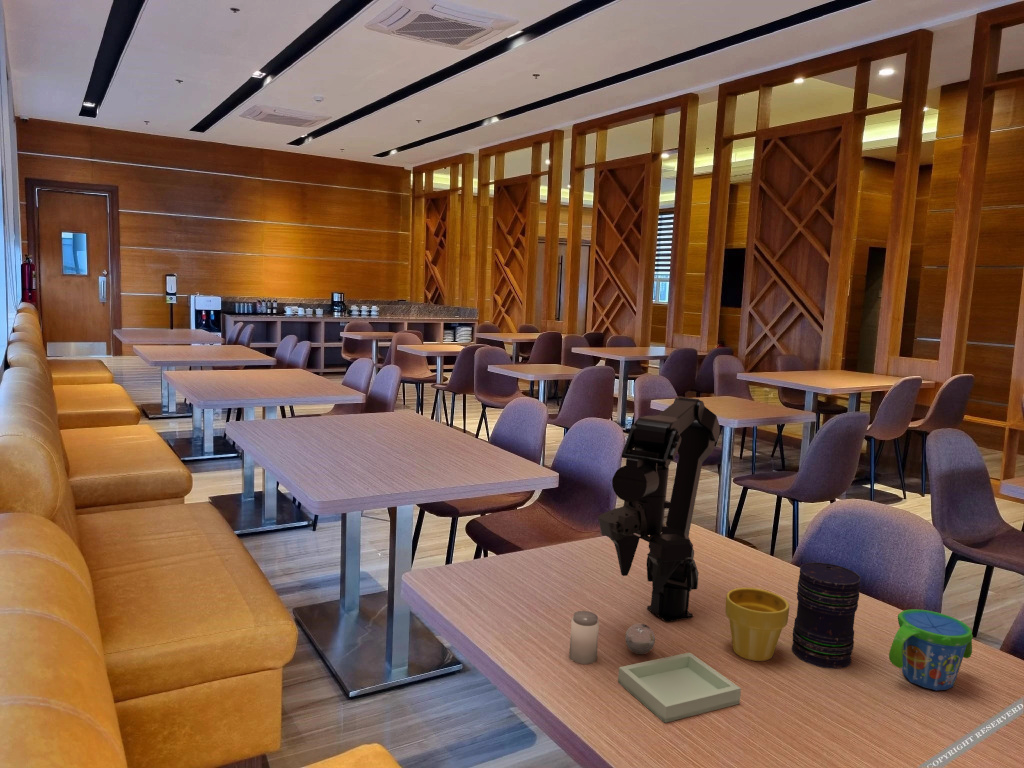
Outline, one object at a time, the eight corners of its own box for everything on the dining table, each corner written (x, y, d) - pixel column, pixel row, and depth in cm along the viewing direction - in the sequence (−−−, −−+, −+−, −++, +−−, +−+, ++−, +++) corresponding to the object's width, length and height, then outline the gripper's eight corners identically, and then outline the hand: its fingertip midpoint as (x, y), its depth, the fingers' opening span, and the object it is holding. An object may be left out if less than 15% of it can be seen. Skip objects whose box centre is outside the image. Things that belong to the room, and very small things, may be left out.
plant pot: (752, 672, 124) (757, 615, 123) (709, 644, 133) (713, 591, 132) (797, 660, 129) (802, 606, 128) (752, 634, 138) (757, 583, 137)
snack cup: (942, 661, 131) (949, 606, 130) (993, 694, 121) (1001, 633, 120) (864, 667, 128) (871, 610, 126) (910, 701, 118) (918, 639, 116)
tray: (688, 666, 125) (689, 652, 125) (739, 703, 114) (740, 688, 114) (617, 682, 119) (619, 667, 119) (664, 723, 108) (666, 706, 108)
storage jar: (854, 674, 125) (864, 588, 123) (791, 662, 128) (800, 578, 126) (848, 647, 135) (857, 567, 133) (790, 637, 138) (798, 558, 136)
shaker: (587, 648, 130) (590, 608, 129) (601, 661, 125) (604, 619, 125) (564, 653, 128) (566, 612, 127) (578, 666, 123) (580, 623, 123)
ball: (642, 643, 132) (644, 616, 132) (659, 656, 128) (661, 628, 127) (618, 648, 130) (620, 620, 130) (635, 661, 126) (637, 633, 125)
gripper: (579, 481, 132) (571, 569, 132) (641, 507, 115) (631, 607, 116) (632, 481, 136) (623, 566, 137) (699, 506, 120) (689, 602, 120)
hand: (639, 584), depth 128 cm, fingers open, 9 cm apart
